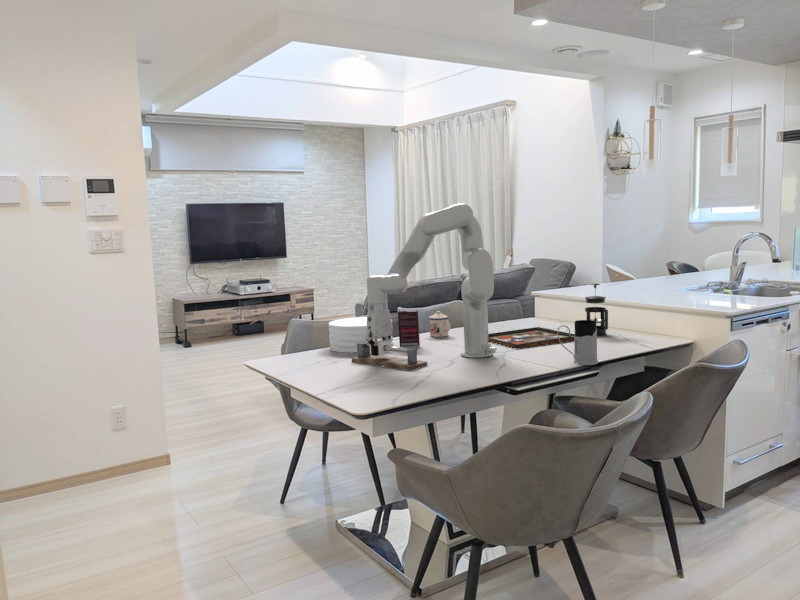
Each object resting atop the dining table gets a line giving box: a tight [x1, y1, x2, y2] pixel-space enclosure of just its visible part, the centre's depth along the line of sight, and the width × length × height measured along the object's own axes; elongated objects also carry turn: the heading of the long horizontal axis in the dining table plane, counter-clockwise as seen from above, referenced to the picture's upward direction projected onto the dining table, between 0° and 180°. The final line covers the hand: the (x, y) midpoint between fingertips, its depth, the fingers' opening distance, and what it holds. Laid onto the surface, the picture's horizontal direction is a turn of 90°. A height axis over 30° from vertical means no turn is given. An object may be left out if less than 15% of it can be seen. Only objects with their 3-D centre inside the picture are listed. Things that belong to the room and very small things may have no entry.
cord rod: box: [356, 342, 418, 364], centre depth 241 cm, size 28×4×6 cm, turn 49°
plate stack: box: [328, 316, 394, 353], centre depth 279 cm, size 28×28×12 cm
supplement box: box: [397, 309, 421, 349], centre depth 273 cm, size 9×5×16 cm, turn 84°
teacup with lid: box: [428, 310, 451, 338], centre depth 298 cm, size 12×9×12 cm
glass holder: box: [556, 319, 599, 366], centre depth 229 cm, size 9×14×15 cm, turn 79°
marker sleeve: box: [369, 339, 391, 356], centre depth 244 cm, size 6×5×5 cm
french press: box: [584, 283, 609, 337], centre depth 283 cm, size 12×9×23 cm
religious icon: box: [488, 326, 575, 349], centre depth 280 cm, size 38×35×3 cm
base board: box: [351, 355, 428, 371], centre depth 241 cm, size 30×10×2 cm, turn 49°
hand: (380, 353), depth 244 cm, fingers closed on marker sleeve, 5 cm apart
